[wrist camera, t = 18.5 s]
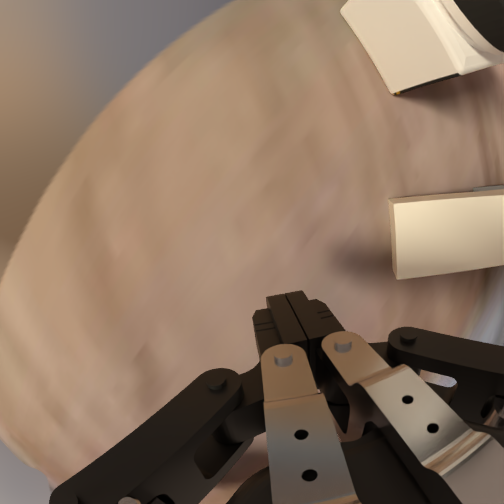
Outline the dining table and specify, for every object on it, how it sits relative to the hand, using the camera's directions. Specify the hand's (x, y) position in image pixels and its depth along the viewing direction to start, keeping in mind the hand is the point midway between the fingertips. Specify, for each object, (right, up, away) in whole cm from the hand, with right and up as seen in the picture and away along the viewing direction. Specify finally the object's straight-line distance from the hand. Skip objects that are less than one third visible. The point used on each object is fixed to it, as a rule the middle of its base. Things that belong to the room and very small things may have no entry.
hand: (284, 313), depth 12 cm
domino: (+8, +3, +5) cm, 10 cm away
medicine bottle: (+9, +17, +2) cm, 20 cm away
